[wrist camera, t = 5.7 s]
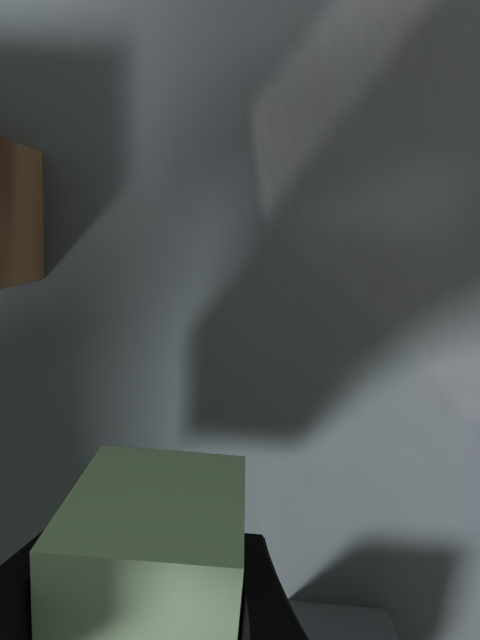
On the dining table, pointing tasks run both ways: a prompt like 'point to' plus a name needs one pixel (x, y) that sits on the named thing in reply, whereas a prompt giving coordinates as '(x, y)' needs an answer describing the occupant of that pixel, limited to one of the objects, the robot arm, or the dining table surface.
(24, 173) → the walnut block
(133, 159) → the dining table surface
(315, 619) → the gray block
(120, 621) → the sage green block
